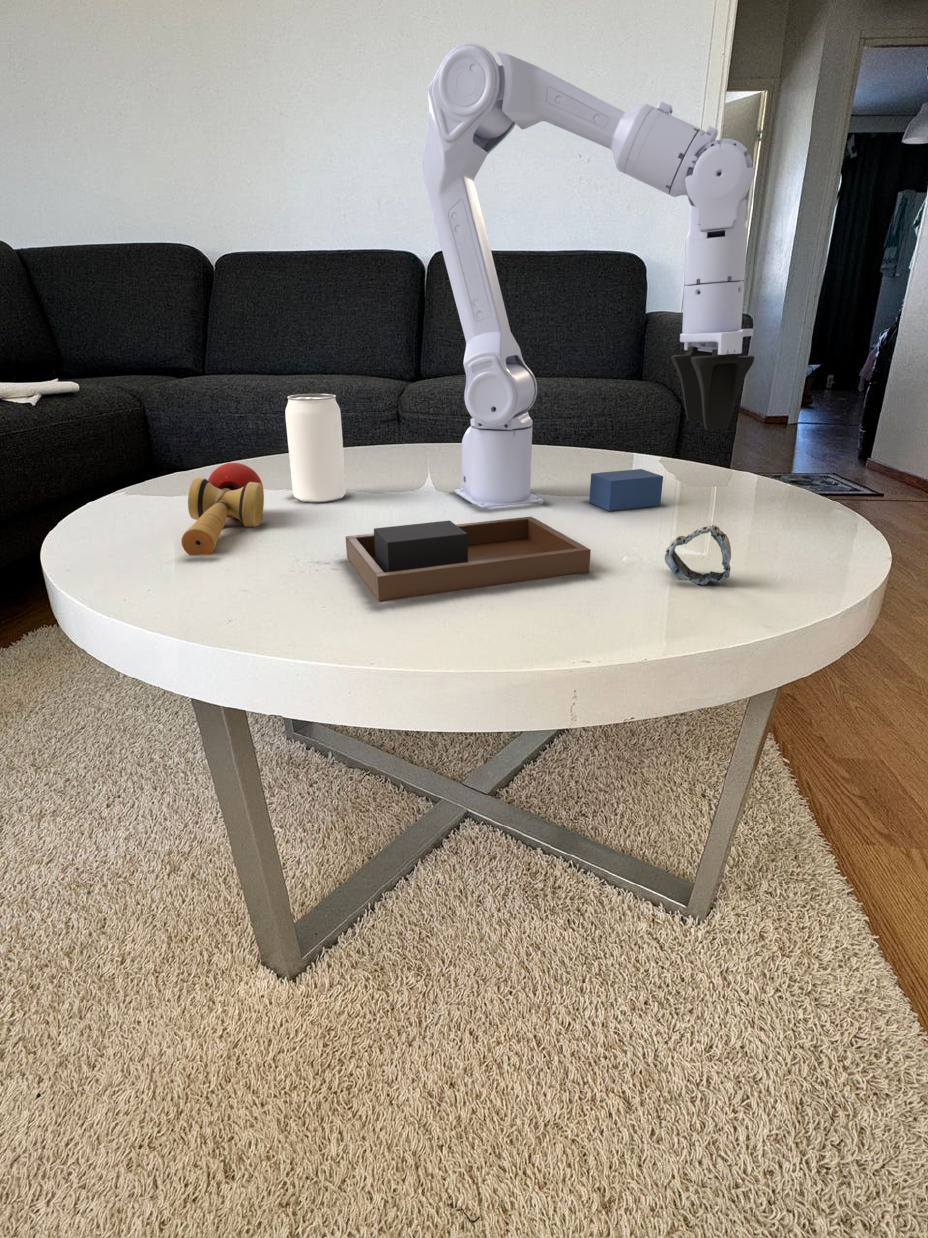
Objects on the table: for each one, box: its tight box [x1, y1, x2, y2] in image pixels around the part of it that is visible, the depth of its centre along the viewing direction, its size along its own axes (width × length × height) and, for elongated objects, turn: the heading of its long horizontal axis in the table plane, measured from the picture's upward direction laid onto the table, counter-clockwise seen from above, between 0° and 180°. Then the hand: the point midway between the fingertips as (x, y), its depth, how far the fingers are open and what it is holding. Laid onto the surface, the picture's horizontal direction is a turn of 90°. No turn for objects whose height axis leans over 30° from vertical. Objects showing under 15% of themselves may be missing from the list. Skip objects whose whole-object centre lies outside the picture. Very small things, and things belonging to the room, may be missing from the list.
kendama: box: [180, 462, 265, 556], centre depth 74 cm, size 8×6×18 cm
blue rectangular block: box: [588, 468, 664, 512], centre depth 85 cm, size 4×7×4 cm, turn 111°
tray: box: [345, 516, 592, 603], centre depth 63 cm, size 12×19×2 cm, turn 111°
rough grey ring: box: [664, 524, 732, 586], centre depth 60 cm, size 3×5×5 cm
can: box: [284, 393, 347, 504], centre depth 87 cm, size 6×6×12 cm
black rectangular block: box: [373, 520, 468, 573], centre depth 62 cm, size 4×7×4 cm, turn 111°
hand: (706, 424), depth 77 cm, fingers open, 7 cm apart
